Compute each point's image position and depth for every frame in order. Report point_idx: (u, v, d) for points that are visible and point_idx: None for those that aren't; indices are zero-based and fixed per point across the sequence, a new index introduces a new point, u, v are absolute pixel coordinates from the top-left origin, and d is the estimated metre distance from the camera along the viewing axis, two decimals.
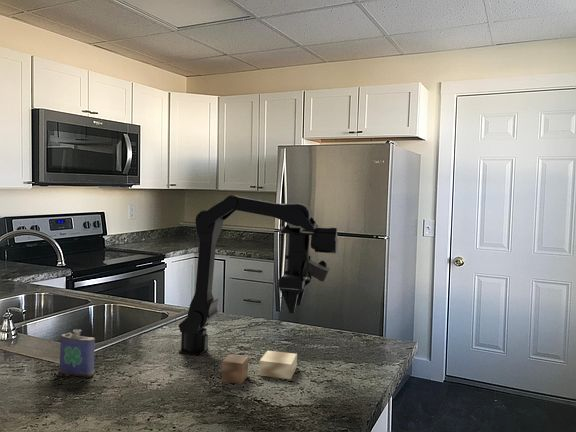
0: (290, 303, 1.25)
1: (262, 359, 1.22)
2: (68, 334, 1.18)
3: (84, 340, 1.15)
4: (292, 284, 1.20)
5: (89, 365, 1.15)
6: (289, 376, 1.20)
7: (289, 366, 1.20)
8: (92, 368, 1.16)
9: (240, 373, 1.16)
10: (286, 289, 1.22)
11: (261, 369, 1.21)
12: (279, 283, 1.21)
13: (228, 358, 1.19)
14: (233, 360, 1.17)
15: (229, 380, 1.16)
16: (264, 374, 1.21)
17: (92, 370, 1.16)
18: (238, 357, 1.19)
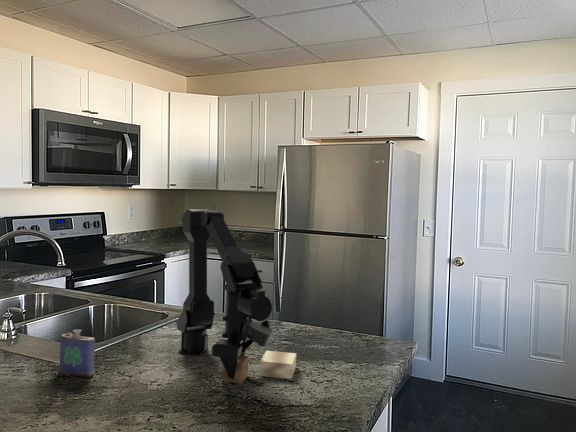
0: (229, 368, 1.15)
1: (263, 359, 1.22)
2: (68, 334, 1.18)
3: (84, 340, 1.15)
4: (226, 352, 1.09)
5: (89, 365, 1.15)
6: (290, 376, 1.20)
7: (290, 366, 1.20)
8: (92, 368, 1.16)
9: (240, 373, 1.16)
10: None
11: (262, 369, 1.21)
12: (212, 351, 1.10)
13: None
14: None
15: (229, 380, 1.16)
16: (265, 374, 1.21)
17: (92, 370, 1.16)
18: None
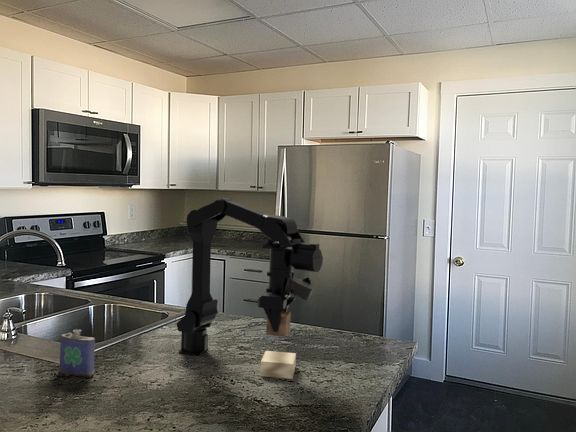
0: (273, 321, 1.20)
1: (263, 360, 1.22)
2: (68, 334, 1.18)
3: (84, 340, 1.15)
4: (272, 303, 1.14)
5: (89, 365, 1.15)
6: (291, 376, 1.20)
7: (291, 366, 1.20)
8: (92, 368, 1.16)
9: (284, 326, 1.20)
10: None
11: (262, 370, 1.21)
12: (259, 302, 1.15)
13: None
14: None
15: (273, 333, 1.21)
16: (265, 375, 1.21)
17: (92, 370, 1.16)
18: None
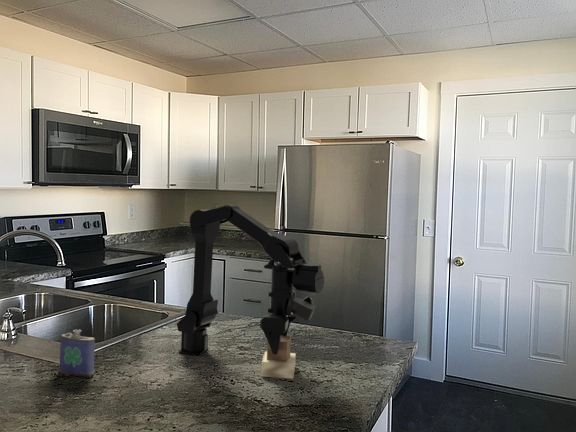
0: (273, 344, 1.19)
1: (263, 360, 1.22)
2: (68, 334, 1.18)
3: (84, 340, 1.15)
4: (274, 325, 1.15)
5: (89, 365, 1.15)
6: (292, 376, 1.20)
7: (292, 366, 1.20)
8: (92, 368, 1.16)
9: (285, 351, 1.21)
10: (269, 330, 1.16)
11: (263, 370, 1.21)
12: (261, 324, 1.15)
13: None
14: None
15: (274, 358, 1.22)
16: (266, 375, 1.21)
17: (92, 370, 1.16)
18: (281, 337, 1.25)
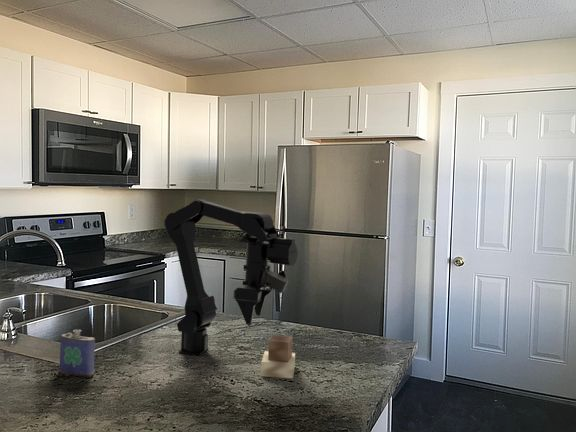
0: (247, 314, 1.23)
1: (263, 360, 1.22)
2: (68, 334, 1.18)
3: (84, 340, 1.15)
4: (247, 295, 1.19)
5: (89, 365, 1.15)
6: (291, 375, 1.21)
7: (291, 366, 1.20)
8: (92, 368, 1.16)
9: (286, 352, 1.21)
10: (242, 300, 1.20)
11: (263, 370, 1.21)
12: (234, 294, 1.19)
13: (274, 338, 1.24)
14: (279, 340, 1.22)
15: (275, 358, 1.22)
16: (266, 375, 1.21)
17: (92, 370, 1.16)
18: (283, 337, 1.25)
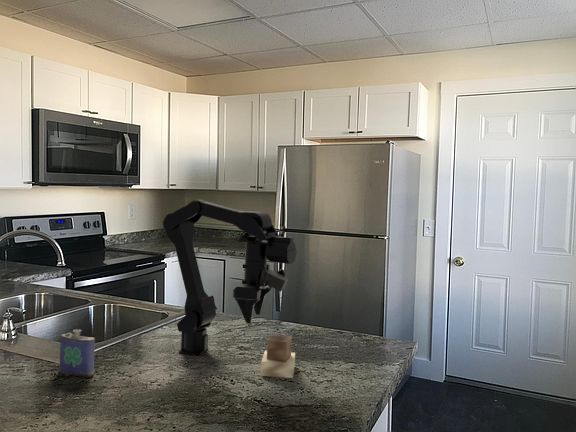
0: (246, 313, 1.23)
1: (263, 360, 1.22)
2: (68, 334, 1.18)
3: (84, 340, 1.15)
4: (246, 294, 1.19)
5: (89, 365, 1.15)
6: (291, 375, 1.21)
7: (291, 365, 1.21)
8: (92, 368, 1.16)
9: (284, 351, 1.21)
10: (241, 299, 1.21)
11: (263, 370, 1.21)
12: (234, 293, 1.20)
13: (273, 337, 1.24)
14: (278, 339, 1.23)
15: (274, 358, 1.22)
16: (266, 374, 1.21)
17: (92, 370, 1.16)
18: (282, 337, 1.25)
